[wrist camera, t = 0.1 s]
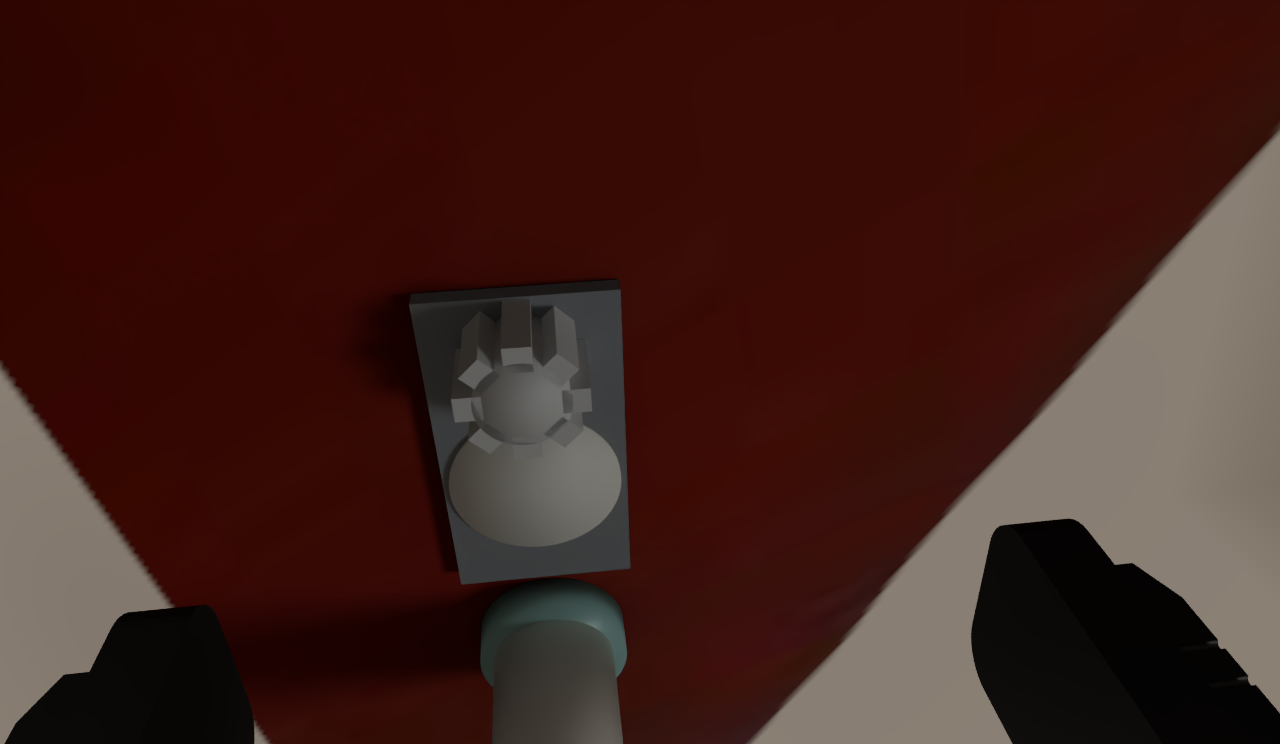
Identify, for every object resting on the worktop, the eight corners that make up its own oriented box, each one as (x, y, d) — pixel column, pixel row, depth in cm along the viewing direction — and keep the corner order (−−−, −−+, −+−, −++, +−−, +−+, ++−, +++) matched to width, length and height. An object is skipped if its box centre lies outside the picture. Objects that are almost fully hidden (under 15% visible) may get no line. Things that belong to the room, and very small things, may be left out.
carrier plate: (410, 294, 27) (399, 353, 24) (618, 279, 27) (629, 336, 25) (462, 571, 33) (457, 641, 31) (628, 556, 34) (637, 623, 31)
